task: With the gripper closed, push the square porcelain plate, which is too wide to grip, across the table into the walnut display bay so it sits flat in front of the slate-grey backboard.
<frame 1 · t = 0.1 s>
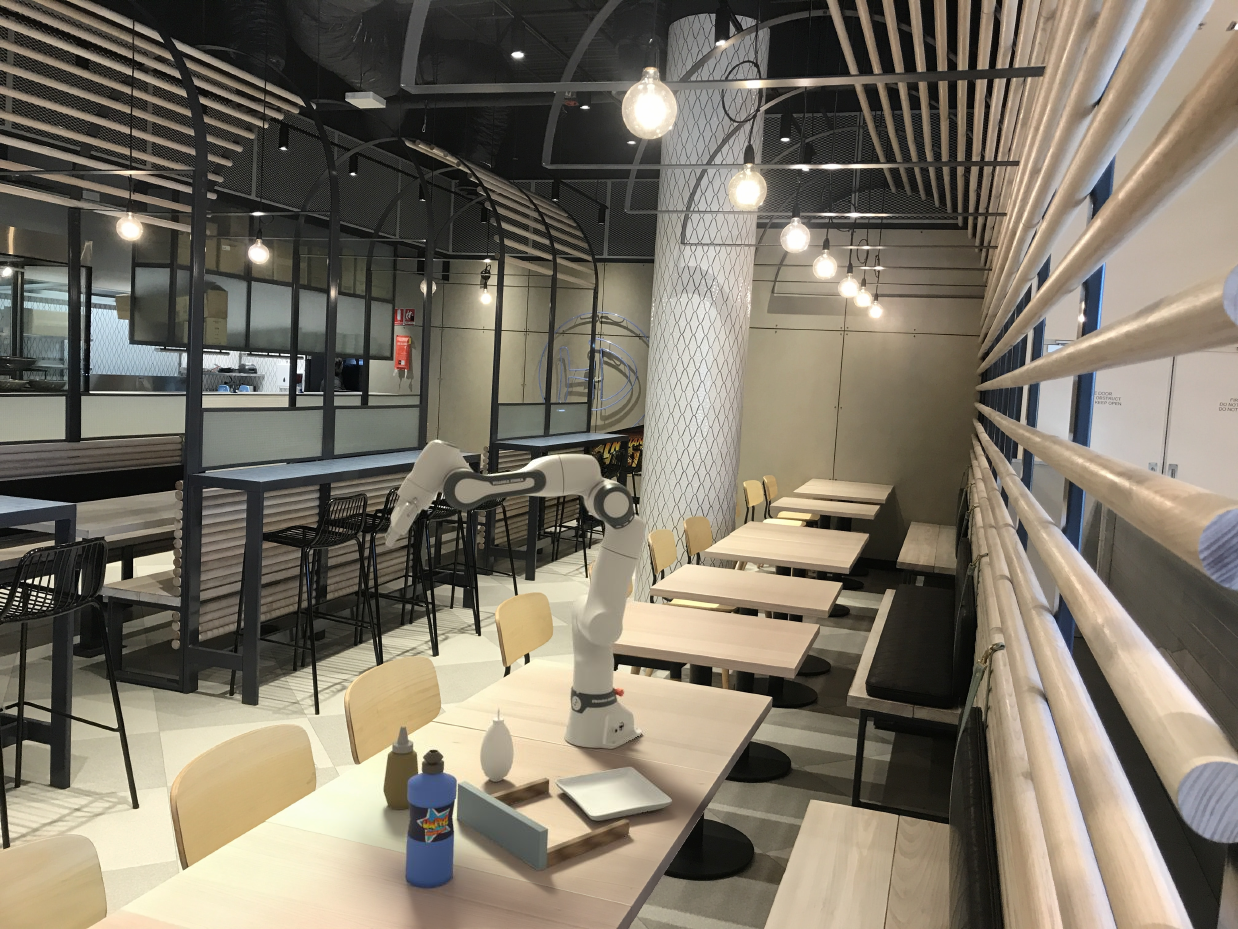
hand: (387, 542, 244), 54 cm above the table, tool tilted 30°, fingers open, 8 cm apart
water bottle: (429, 877, 185), on the table
display bay: (543, 826, 209), on the table
white dust blower: (495, 781, 232), on the table
squeeze bottle: (400, 805, 216), on the table
salad plate: (612, 803, 223), on the table
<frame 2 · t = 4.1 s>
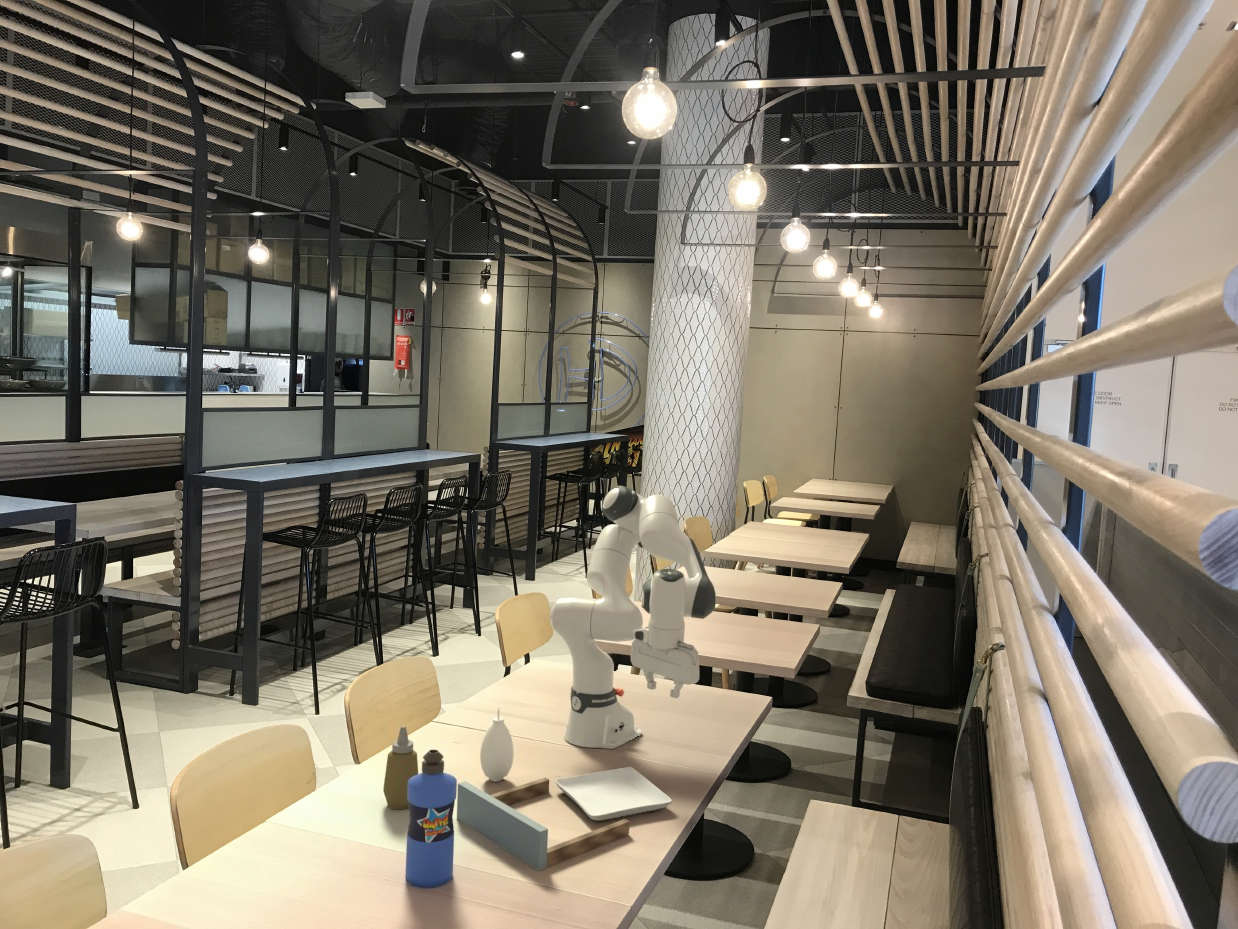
hand: (663, 693, 232), 23 cm above the table, tool pointing down, fingers open, 6 cm apart
nothing on the table moved.
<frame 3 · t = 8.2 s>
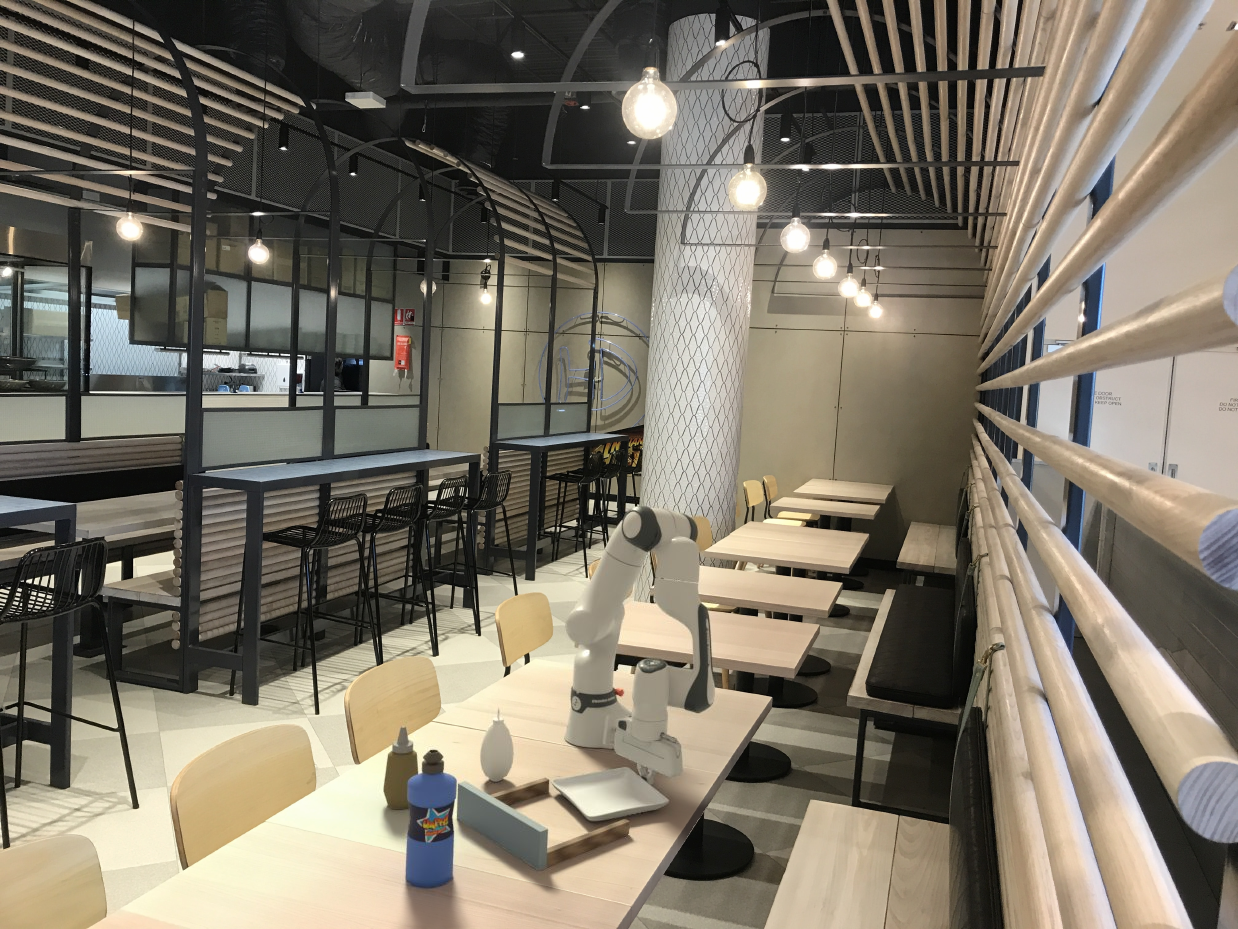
hand: (646, 783, 230), 2 cm above the table, tool pointing down, fingers closed
salad plate: (608, 804, 222), on the table, touching gripper
everything else where it was.
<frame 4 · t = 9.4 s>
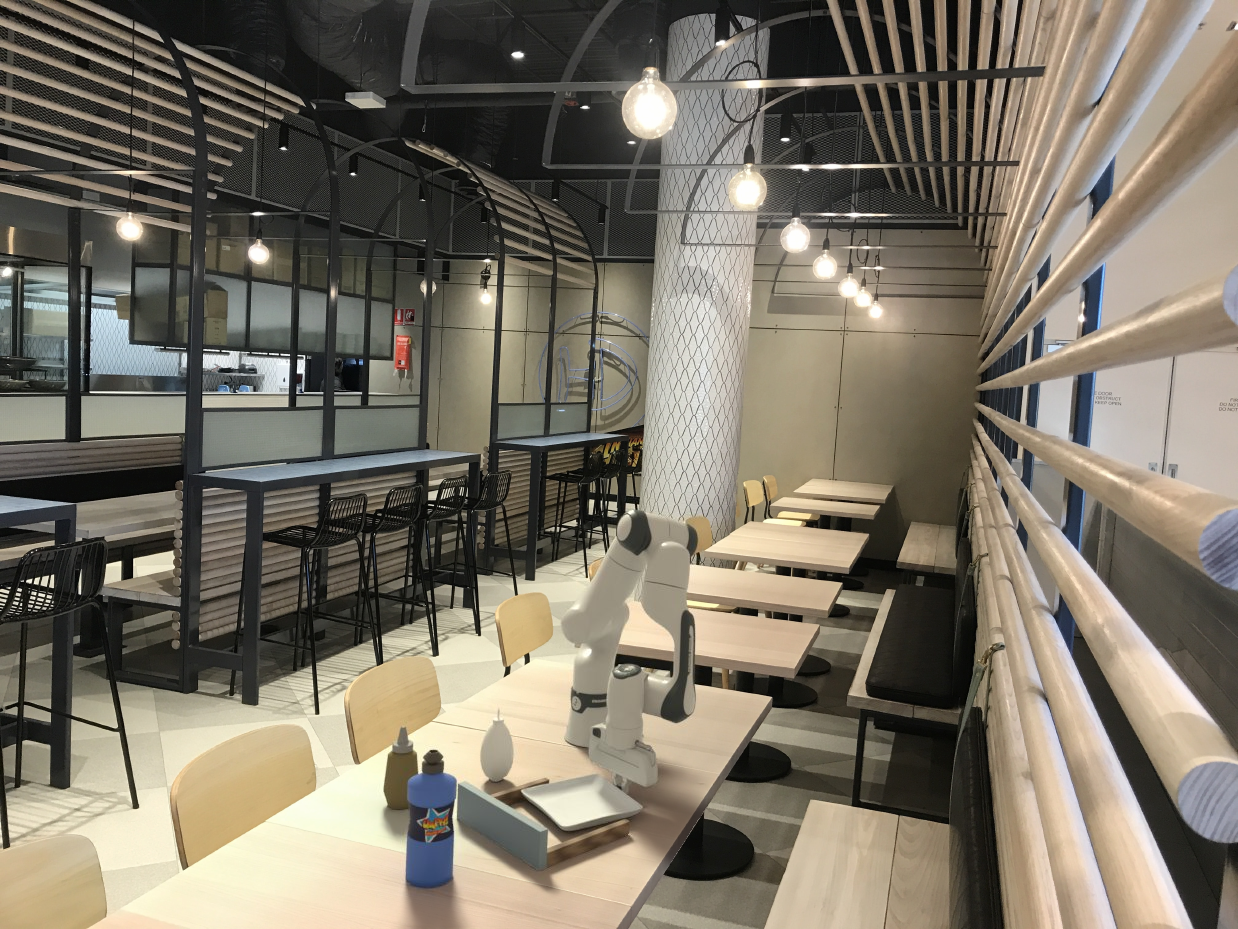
hand: (621, 792, 224), 2 cm above the table, tool pointing down, fingers closed
salad plate: (580, 812, 217), on the table, touching gripper
everything else where it was.
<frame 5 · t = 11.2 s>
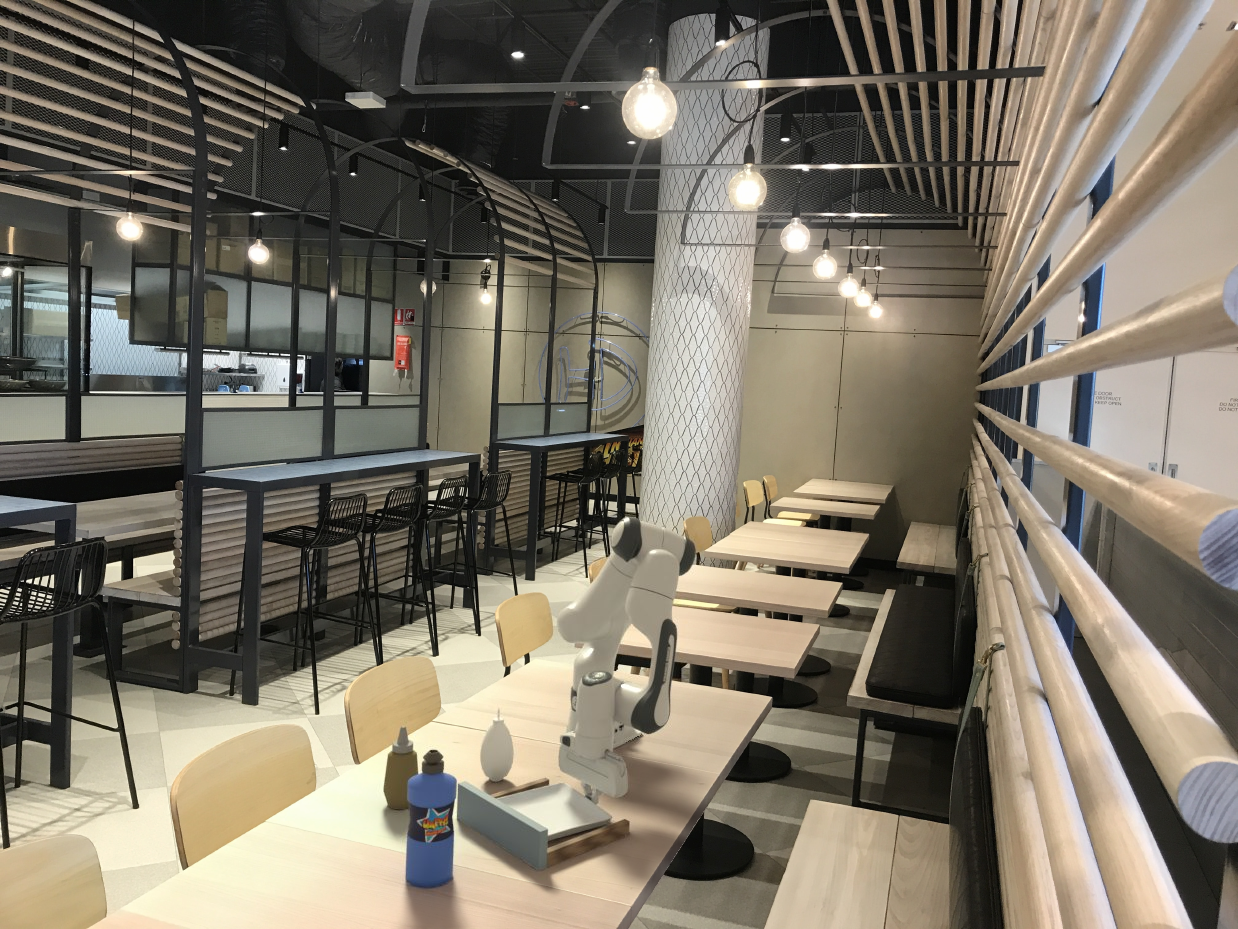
hand: (591, 802, 218), 2 cm above the table, tool pointing down, fingers closed
salad plate: (547, 823, 211), on the table, touching gripper
everything else where it was.
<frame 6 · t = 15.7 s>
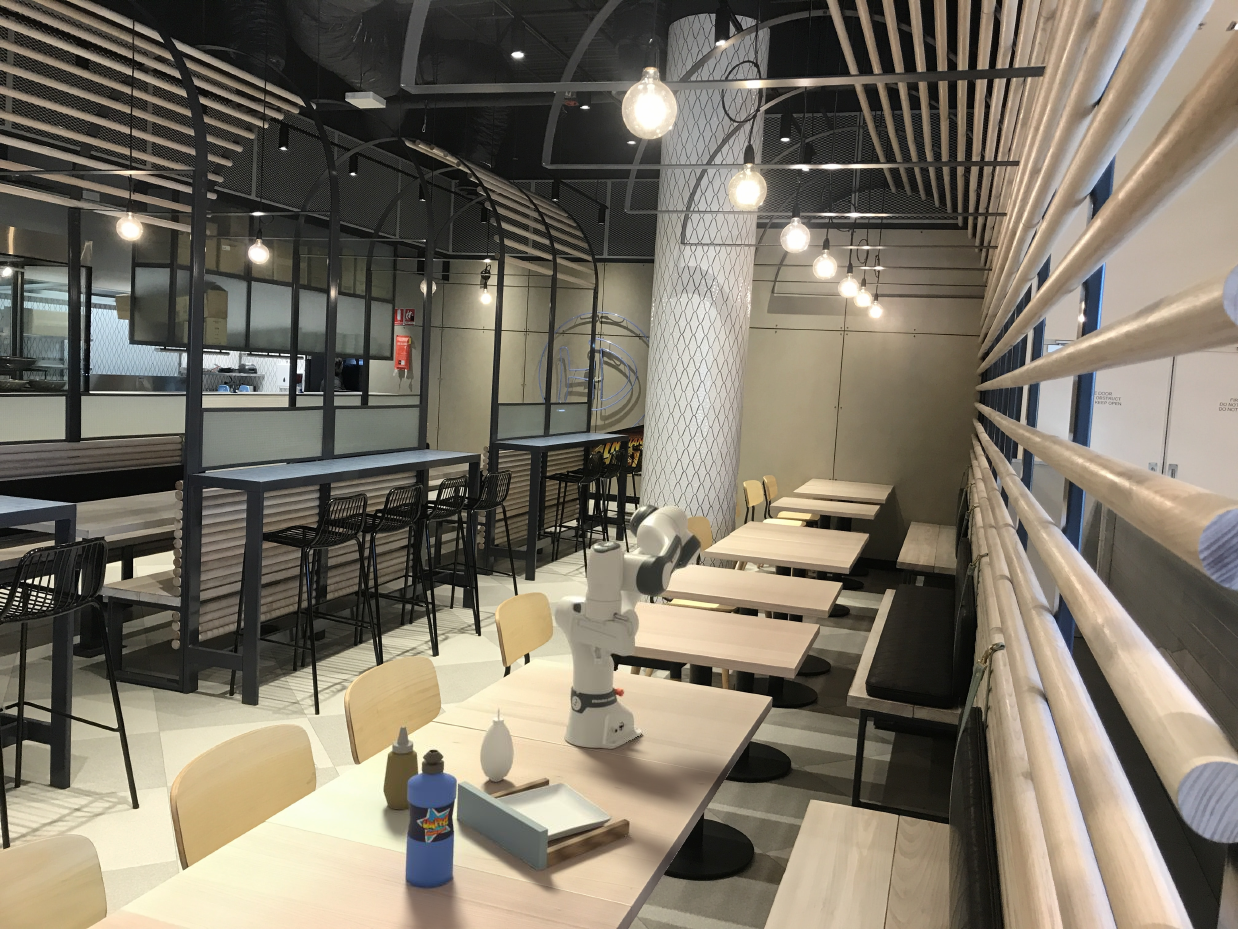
hand: (600, 665, 232), 29 cm above the table, tool pointing down, fingers closed
salad plate: (547, 824, 211), on the table
everything else where it was.
at the end: salad plate inside the target area on the display bay (1.3 cm from its centre), point -0.6 cm above the display bay's base; salad plate tilted 0°; salad plate moved 18.6 cm from its start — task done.
